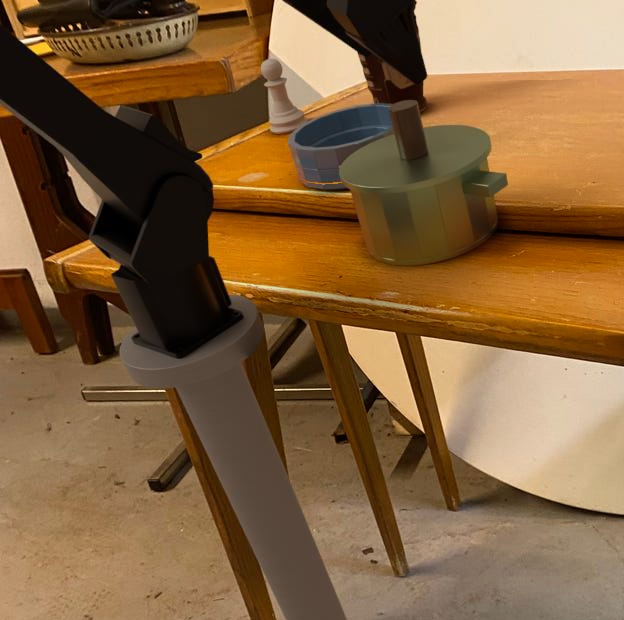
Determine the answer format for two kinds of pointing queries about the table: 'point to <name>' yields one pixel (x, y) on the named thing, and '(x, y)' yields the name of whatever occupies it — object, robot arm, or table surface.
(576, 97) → the table surface
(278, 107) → the chess piece
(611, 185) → the table surface
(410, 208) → the pot
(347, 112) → the pan
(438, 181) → the lid
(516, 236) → the table surface
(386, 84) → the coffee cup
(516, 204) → the table surface
